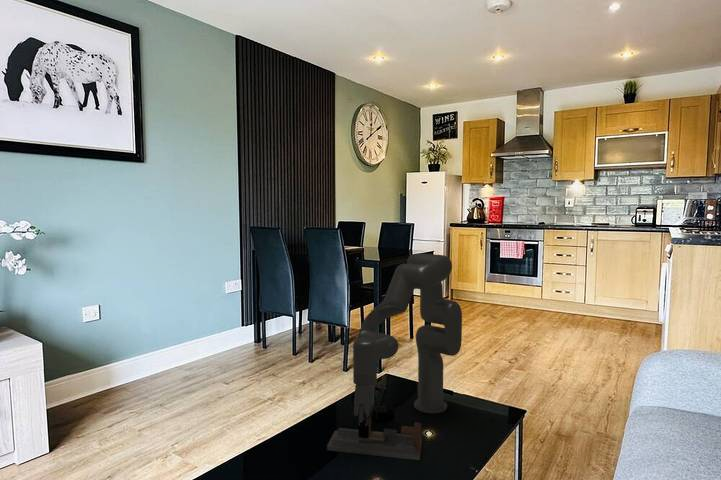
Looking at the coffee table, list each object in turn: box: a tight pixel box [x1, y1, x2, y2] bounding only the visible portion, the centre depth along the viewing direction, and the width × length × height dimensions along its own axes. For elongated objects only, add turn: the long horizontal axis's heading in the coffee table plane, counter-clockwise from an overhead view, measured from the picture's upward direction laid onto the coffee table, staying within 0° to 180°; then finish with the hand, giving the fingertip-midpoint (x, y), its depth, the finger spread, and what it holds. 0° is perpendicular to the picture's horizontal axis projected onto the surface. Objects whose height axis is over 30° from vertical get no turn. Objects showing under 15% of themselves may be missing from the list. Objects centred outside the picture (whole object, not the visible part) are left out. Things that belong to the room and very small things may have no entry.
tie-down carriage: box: [359, 416, 398, 443], centre depth 140 cm, size 5×12×7 cm, turn 78°
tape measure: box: [372, 404, 395, 422], centre depth 160 cm, size 7×7×4 cm
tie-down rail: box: [326, 422, 423, 461], centre depth 140 cm, size 10×29×8 cm, turn 78°
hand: (365, 432), depth 141 cm, fingers closed on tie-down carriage, 4 cm apart
